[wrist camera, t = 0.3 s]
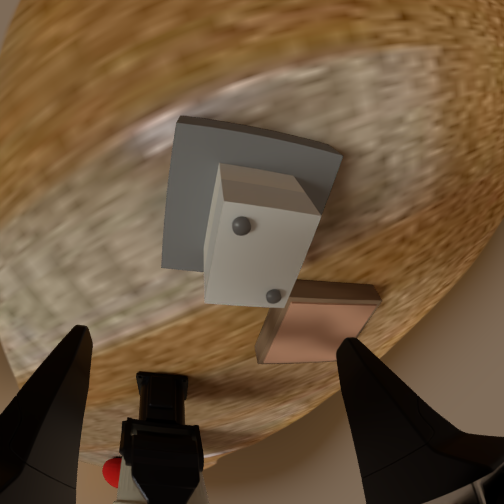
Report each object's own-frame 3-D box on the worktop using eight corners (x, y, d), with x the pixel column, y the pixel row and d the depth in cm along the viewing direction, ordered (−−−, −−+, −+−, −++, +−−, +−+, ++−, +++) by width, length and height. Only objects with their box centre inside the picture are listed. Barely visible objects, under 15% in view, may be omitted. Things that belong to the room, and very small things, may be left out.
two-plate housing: (268, 255, 20) (285, 311, 16) (203, 248, 19) (204, 307, 15) (293, 175, 17) (323, 219, 13) (219, 163, 16) (224, 204, 12)
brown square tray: (334, 345, 33) (340, 362, 31) (254, 346, 31) (258, 365, 29) (372, 284, 28) (382, 302, 26) (281, 278, 25) (287, 298, 23)
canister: (195, 418, 42) (206, 535, 25) (213, 445, 52) (224, 530, 36) (99, 417, 40) (94, 522, 23) (136, 446, 51) (138, 527, 34)
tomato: (100, 457, 60) (99, 487, 52) (107, 450, 54) (105, 485, 46) (144, 466, 66) (145, 495, 58) (157, 460, 61) (158, 493, 52)
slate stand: (288, 260, 24) (295, 280, 22) (164, 247, 22) (161, 267, 20) (328, 144, 19) (343, 155, 17) (180, 115, 16) (176, 122, 14)
